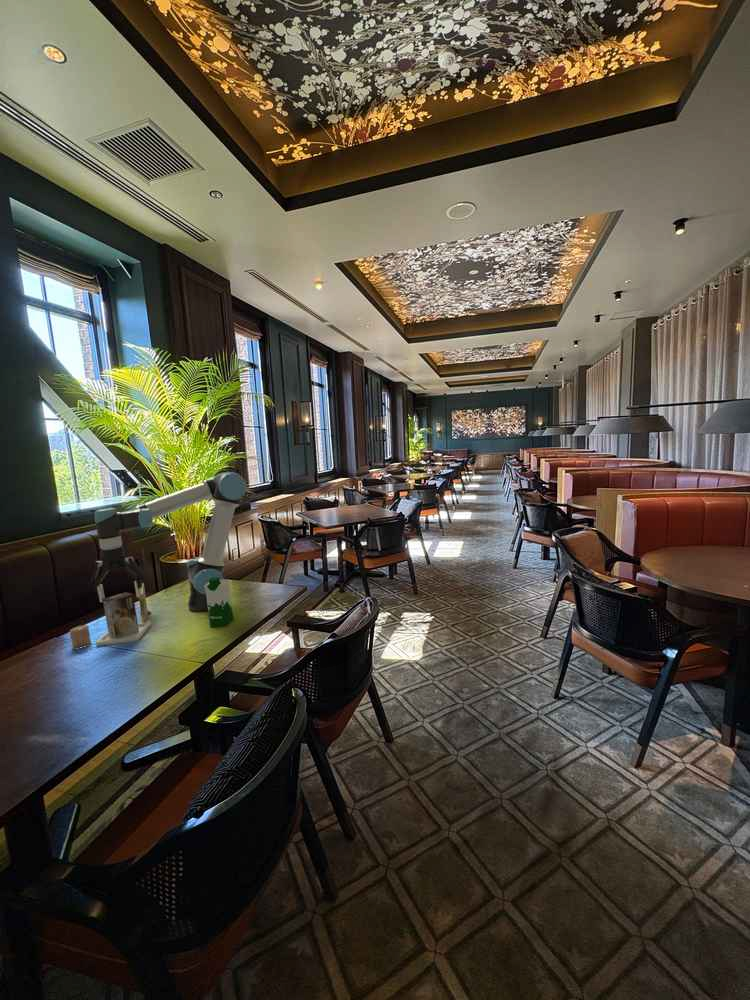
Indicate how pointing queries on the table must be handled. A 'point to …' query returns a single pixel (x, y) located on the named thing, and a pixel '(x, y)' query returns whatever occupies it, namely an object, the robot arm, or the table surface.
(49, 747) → the table surface
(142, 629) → the tray
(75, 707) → the table surface
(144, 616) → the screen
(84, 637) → the brown domed capsule
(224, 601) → the milk carton
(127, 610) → the coffee box
